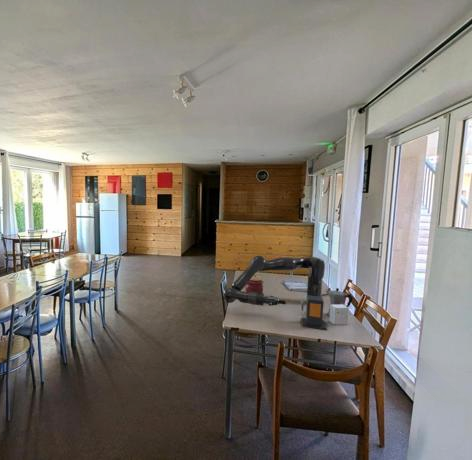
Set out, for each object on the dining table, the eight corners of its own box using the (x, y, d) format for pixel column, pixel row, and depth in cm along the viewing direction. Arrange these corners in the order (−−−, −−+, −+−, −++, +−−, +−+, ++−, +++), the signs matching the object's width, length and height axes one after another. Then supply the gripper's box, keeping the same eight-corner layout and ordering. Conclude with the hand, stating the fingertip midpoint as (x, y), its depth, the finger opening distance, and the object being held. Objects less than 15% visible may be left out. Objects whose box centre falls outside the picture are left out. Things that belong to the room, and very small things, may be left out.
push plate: (300, 307, 176) (301, 298, 176) (302, 307, 176) (303, 298, 175) (301, 310, 170) (301, 302, 170) (303, 310, 170) (303, 302, 169)
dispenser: (301, 318, 179) (303, 293, 178) (323, 322, 175) (325, 296, 173) (302, 326, 168) (304, 299, 166) (326, 330, 164) (327, 302, 162)
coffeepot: (321, 314, 186) (323, 287, 184) (327, 311, 193) (328, 284, 191) (348, 322, 175) (351, 293, 173) (353, 318, 181) (355, 290, 180)
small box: (341, 320, 177) (343, 304, 176) (347, 324, 171) (349, 307, 170) (329, 321, 176) (330, 304, 175) (334, 324, 171) (335, 307, 170)
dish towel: (290, 290, 236) (290, 287, 236) (282, 282, 260) (282, 279, 259) (312, 291, 235) (312, 288, 234) (302, 283, 258) (302, 280, 258)
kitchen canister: (256, 300, 212) (257, 276, 211) (241, 296, 222) (242, 273, 220) (266, 296, 221) (267, 274, 219) (251, 292, 230) (252, 270, 229)
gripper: (255, 296, 176) (285, 299, 170) (257, 289, 188) (285, 293, 182) (254, 308, 177) (285, 312, 170) (256, 301, 189) (285, 304, 183)
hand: (285, 302), depth 176 cm, fingers closed
